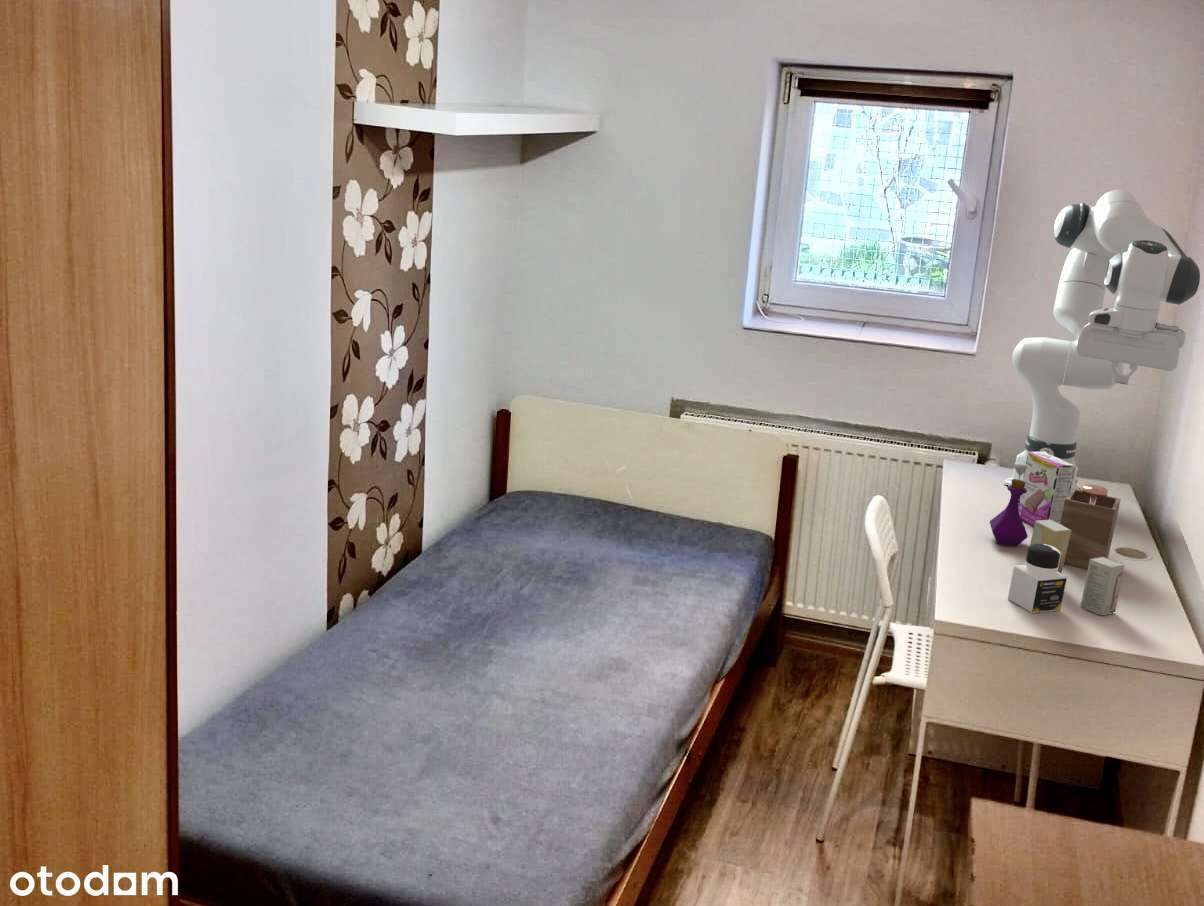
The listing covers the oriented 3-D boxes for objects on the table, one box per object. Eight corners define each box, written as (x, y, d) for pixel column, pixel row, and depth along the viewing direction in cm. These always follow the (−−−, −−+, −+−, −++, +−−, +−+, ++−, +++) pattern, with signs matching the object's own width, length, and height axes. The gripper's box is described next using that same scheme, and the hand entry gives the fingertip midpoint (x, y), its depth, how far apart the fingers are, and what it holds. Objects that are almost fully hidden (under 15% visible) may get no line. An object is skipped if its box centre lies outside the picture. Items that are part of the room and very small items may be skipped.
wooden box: (1059, 548, 276) (1072, 488, 273) (1107, 559, 272) (1120, 498, 268) (1052, 561, 268) (1065, 499, 264) (1101, 573, 264) (1115, 510, 260)
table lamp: (1067, 538, 274) (1078, 479, 270) (1104, 546, 271) (1117, 487, 267) (1061, 547, 268) (1073, 488, 264) (1099, 556, 264) (1112, 496, 260)
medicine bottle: (1032, 614, 238) (1043, 554, 235) (1006, 599, 244) (1017, 541, 241) (1060, 610, 241) (1073, 552, 238) (1035, 596, 247) (1046, 539, 244)
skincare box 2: (1115, 613, 242) (1126, 565, 239) (1101, 617, 240) (1112, 567, 237) (1093, 603, 246) (1103, 555, 243) (1078, 606, 244) (1089, 558, 241)
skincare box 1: (1022, 575, 258) (1033, 519, 254) (1038, 574, 260) (1049, 518, 256) (1044, 587, 252) (1055, 530, 249) (1060, 586, 254) (1072, 529, 251)
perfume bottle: (1025, 550, 273) (1040, 472, 268) (989, 545, 274) (1004, 467, 269) (1021, 539, 280) (1036, 462, 275) (987, 534, 282) (1001, 458, 277)
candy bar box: (1014, 517, 296) (1026, 451, 291) (1031, 516, 297) (1044, 450, 293) (1045, 534, 286) (1058, 465, 281) (1062, 533, 287) (1076, 465, 283)
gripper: (1188, 325, 262) (1174, 389, 266) (1086, 309, 270) (1073, 372, 275) (1186, 330, 256) (1171, 395, 260) (1081, 313, 265) (1069, 377, 269)
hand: (1120, 383), depth 268 cm, fingers closed
